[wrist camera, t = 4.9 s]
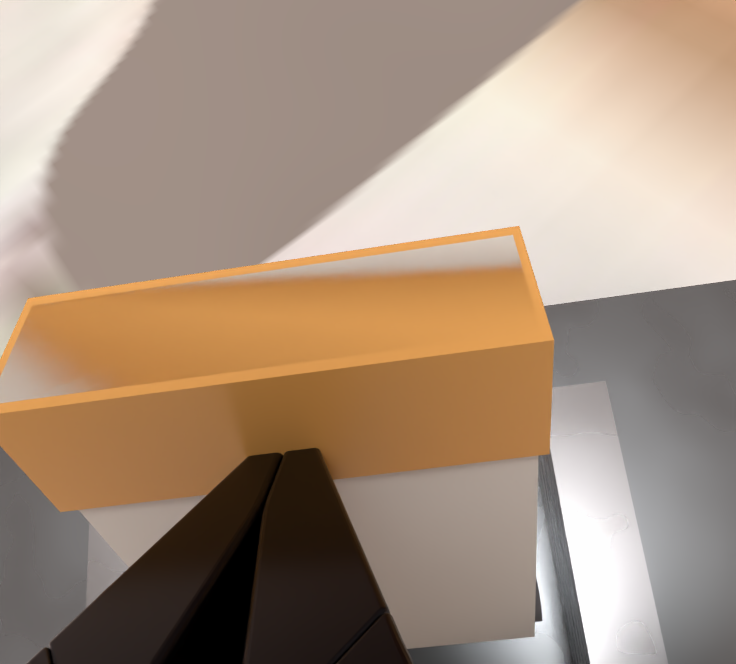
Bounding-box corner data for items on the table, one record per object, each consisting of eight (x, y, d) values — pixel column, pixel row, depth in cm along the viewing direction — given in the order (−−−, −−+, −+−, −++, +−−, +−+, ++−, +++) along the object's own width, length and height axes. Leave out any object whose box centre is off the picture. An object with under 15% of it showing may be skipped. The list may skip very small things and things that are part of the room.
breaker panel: (858, 872, 14) (1078, 1038, 9) (25, 925, 16) (-185, 1091, 11) (705, 323, 18) (799, 225, 13) (54, 409, 20) (-89, 351, 15)
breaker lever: (547, 654, 13) (564, 338, 7) (212, 685, 14) (-35, 417, 8) (527, 558, 14) (527, 224, 8) (223, 590, 15) (21, 299, 9)
